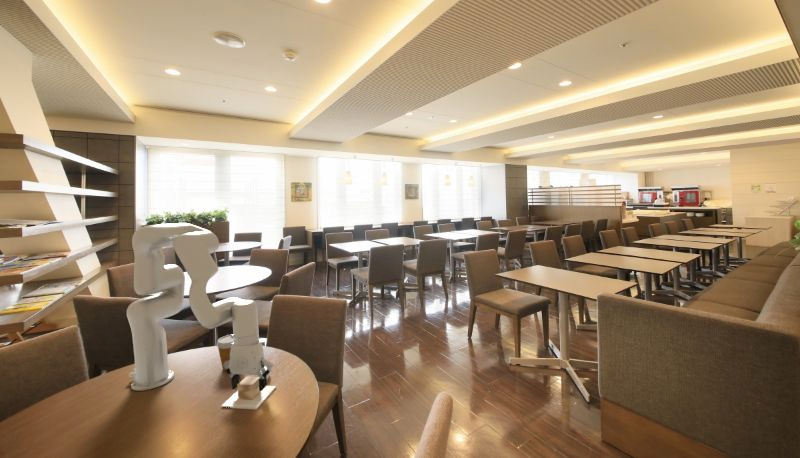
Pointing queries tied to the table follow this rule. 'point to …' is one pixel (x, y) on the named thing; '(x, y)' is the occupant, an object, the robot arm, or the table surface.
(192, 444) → the table surface
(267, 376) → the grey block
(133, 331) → the robot arm
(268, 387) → the tray
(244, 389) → the oak cube
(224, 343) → the disposable coffee cup
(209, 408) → the table surface
